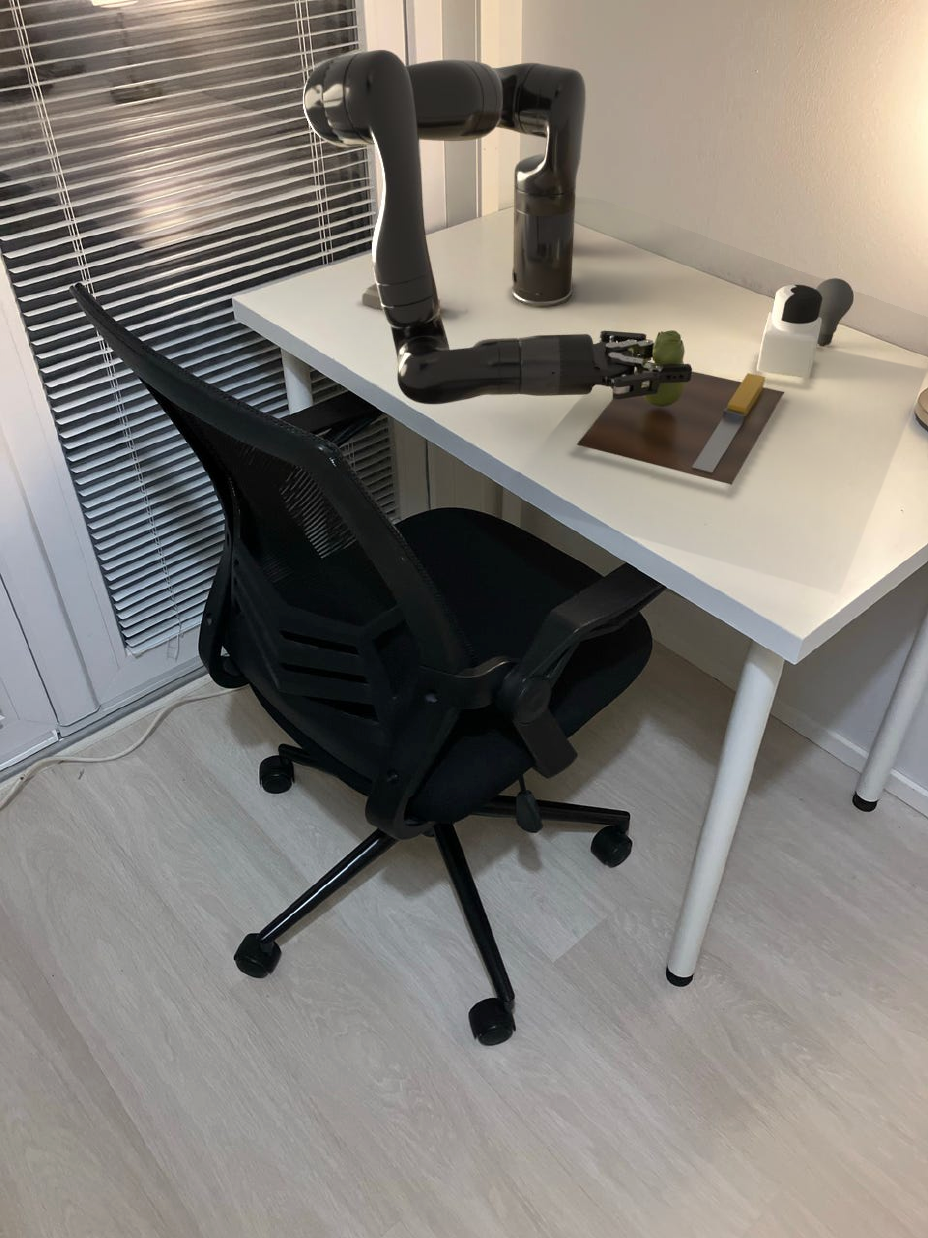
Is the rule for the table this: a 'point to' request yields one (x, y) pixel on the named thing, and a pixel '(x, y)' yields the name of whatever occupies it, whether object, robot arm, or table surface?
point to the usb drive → (375, 297)
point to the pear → (667, 352)
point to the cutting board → (681, 427)
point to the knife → (730, 423)
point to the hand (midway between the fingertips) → (685, 361)
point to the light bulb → (833, 307)
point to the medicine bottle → (791, 332)
